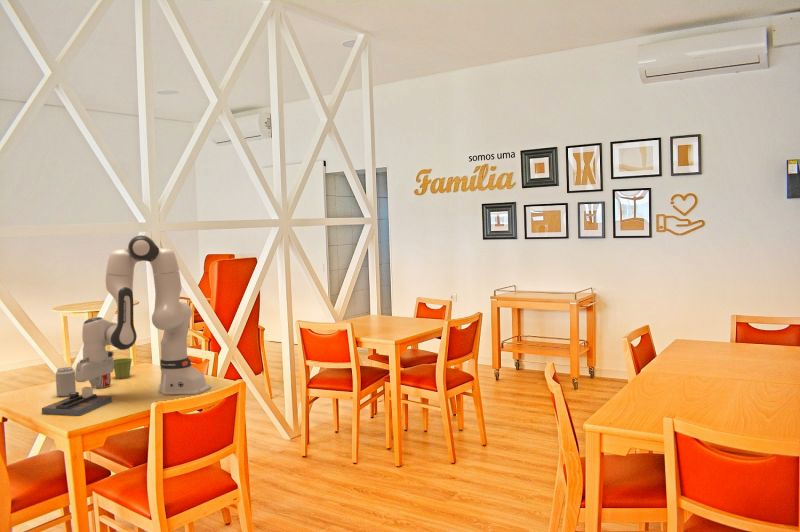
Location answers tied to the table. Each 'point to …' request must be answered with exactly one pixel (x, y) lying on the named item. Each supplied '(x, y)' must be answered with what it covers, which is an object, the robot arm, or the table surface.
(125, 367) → the plant pot
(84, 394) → the fader
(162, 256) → the robot arm
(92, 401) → the console
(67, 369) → the can
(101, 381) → the soda can
